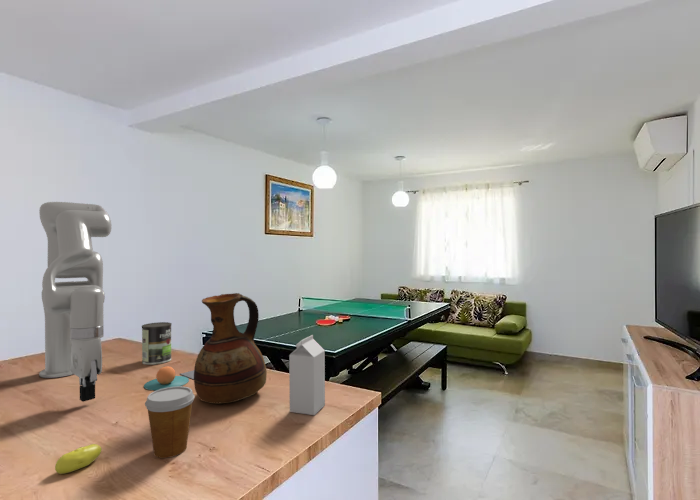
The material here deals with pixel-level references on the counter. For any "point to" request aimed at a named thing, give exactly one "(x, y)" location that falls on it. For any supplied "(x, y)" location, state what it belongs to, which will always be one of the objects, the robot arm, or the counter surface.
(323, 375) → the milk carton
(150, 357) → the coffee can
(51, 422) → the counter surface
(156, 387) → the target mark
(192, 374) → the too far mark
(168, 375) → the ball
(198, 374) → the ceramic pitcher
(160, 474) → the counter surface
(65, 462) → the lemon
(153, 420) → the disposable coffee cup
